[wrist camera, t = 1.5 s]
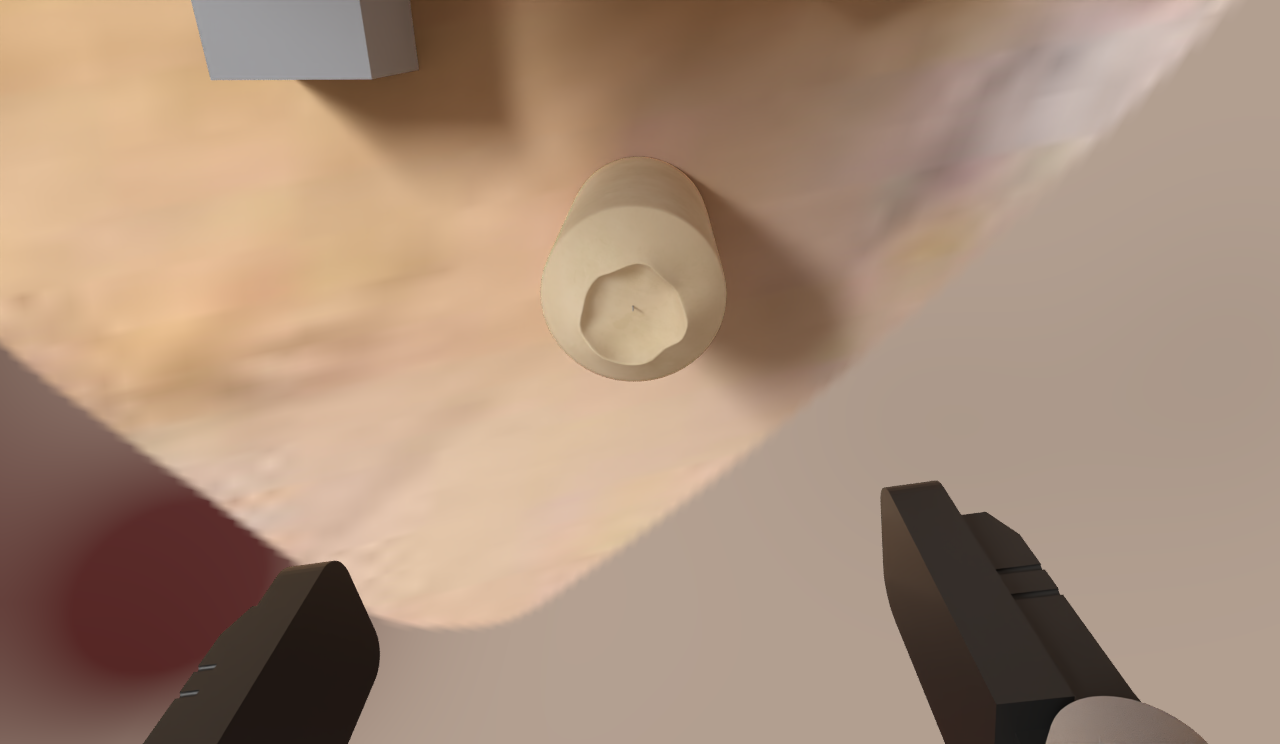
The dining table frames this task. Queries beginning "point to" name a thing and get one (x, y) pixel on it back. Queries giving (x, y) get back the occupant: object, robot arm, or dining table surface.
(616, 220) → the candle
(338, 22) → the slate block
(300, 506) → the dining table surface
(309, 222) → the dining table surface
